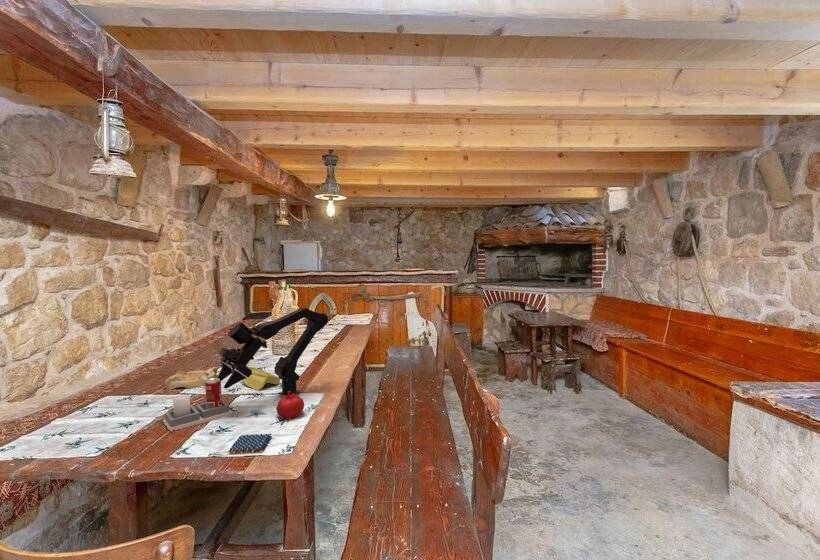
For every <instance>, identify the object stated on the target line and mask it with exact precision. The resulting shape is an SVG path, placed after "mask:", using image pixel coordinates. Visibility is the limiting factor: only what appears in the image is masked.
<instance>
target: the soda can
mask: <svg viewBox="0 0 820 560" xmlns="http://www.w3.org/2000/svg"><path fill="white" fill-rule="evenodd" d="M204 387H205V401H206V402H205V403H206V404H207V410H209V409H212V408H216V407H220V406H222V400H223V399H222V398H223V397H222V394H223V393H222V381H220V379H219V378H212V379H208V380H207V381H206V384H205V386H204Z"/></svg>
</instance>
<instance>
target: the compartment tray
mask: <svg viewBox="0 0 820 560" xmlns="http://www.w3.org/2000/svg"><path fill="white" fill-rule="evenodd" d="M172 402H173V408H172V409H173V410H170V411H166V412H164V418H163V424H164V425H165V427H166V426H167V427H166V428H167V429H168V431H169V430H170V431H171V432H174V431H173V430H175V431H178V429H179V430H182V429H185V428H189V427H194V426H197V425H200V424H203V423H207V422H211V421H215V420H217V419H221V418H225V417H228V416H229V417H230V416H232V411H231V410H230V405H229V403H227V402H226V401H224V400H223V399H222V406H220V407H216V408H212V409H209V410H207V404H206V402H203V403H199V404H196V405H195V406H194V405H191V396H190V395H188V394H182V395H178V396H175V397H174V398H172ZM170 431H169V432H170Z"/></svg>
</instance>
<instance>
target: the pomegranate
mask: <svg viewBox="0 0 820 560" xmlns="http://www.w3.org/2000/svg"><path fill="white" fill-rule="evenodd" d="M290 392H291V391H288V392H287V393H288V396H284V395H279V397H280V400H279V401H278V402H277V405H276V413H277V416H279V417H280V418H282V419H287V420H289V419H293V418H296V417H297V416H298V417H299V415H301V413H302V412H303V411H304V408H305V401H304V399H303V398H302V397H301V395H299V394H295V393H294V394H295V395H294V394H293V395H290Z"/></svg>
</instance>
